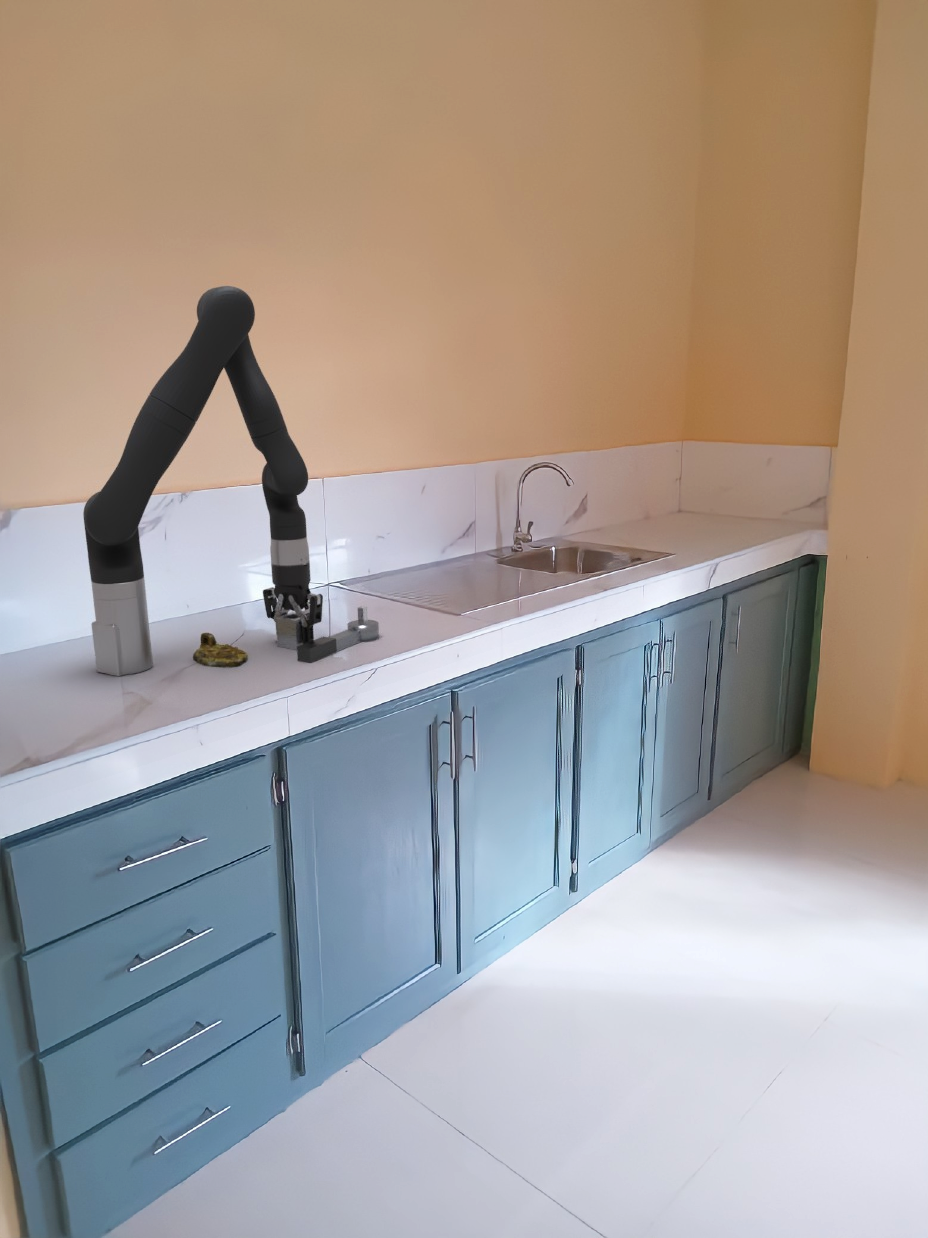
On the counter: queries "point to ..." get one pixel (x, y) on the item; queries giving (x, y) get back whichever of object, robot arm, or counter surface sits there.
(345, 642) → the ratchet
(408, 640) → the counter surface
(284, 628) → the hollow square tube
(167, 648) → the counter surface
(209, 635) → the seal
